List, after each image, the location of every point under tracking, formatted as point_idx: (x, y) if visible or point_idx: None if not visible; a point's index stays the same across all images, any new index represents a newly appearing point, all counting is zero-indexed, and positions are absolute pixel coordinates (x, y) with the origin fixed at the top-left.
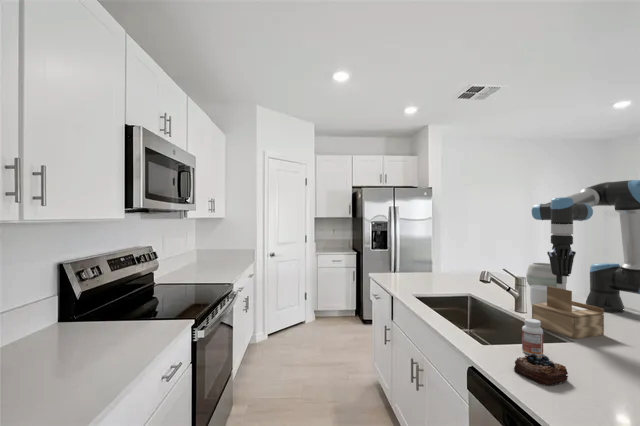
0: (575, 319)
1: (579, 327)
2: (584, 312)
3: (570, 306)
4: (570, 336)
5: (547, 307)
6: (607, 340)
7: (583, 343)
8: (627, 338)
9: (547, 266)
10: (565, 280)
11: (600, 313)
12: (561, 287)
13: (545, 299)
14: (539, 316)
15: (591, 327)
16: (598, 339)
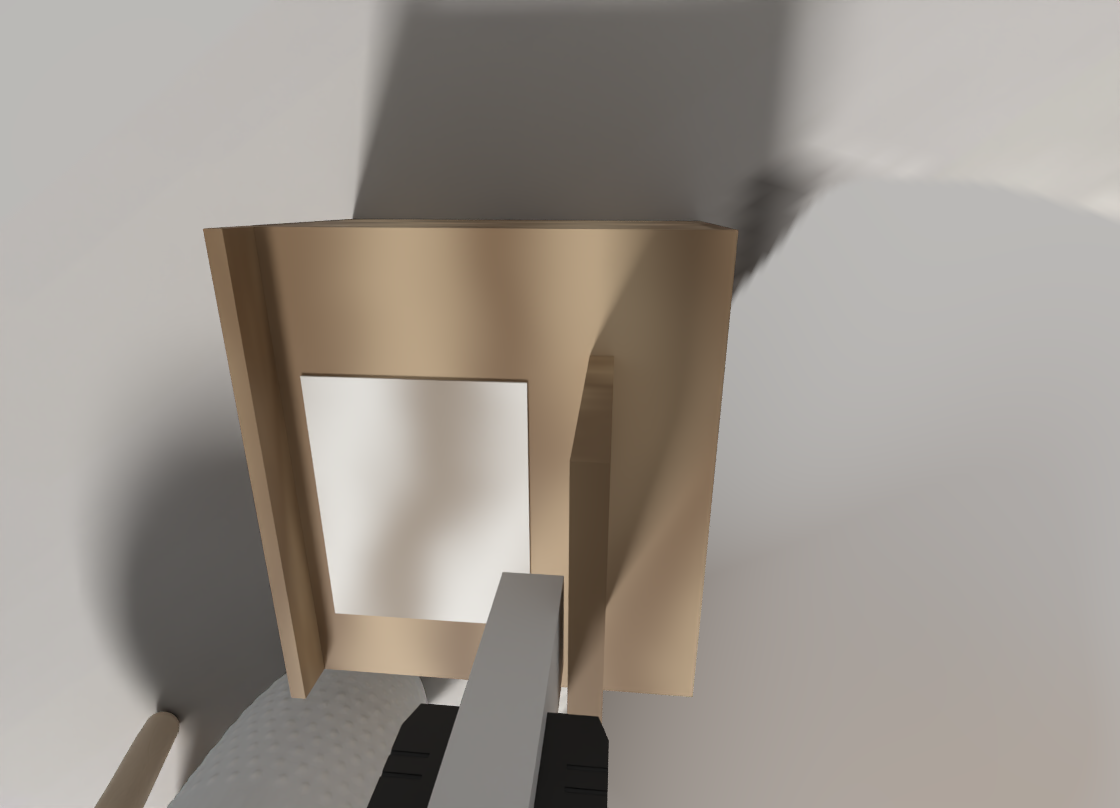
0: (699, 228)
1: (634, 223)
2: (452, 302)
3: (611, 374)
4: None
5: (668, 564)
6: (449, 110)
7: (733, 111)
8: (231, 99)
9: None
10: (464, 752)
11: (290, 226)
12: (554, 660)
13: (365, 762)
14: None
15: (474, 222)
16: (501, 151)
